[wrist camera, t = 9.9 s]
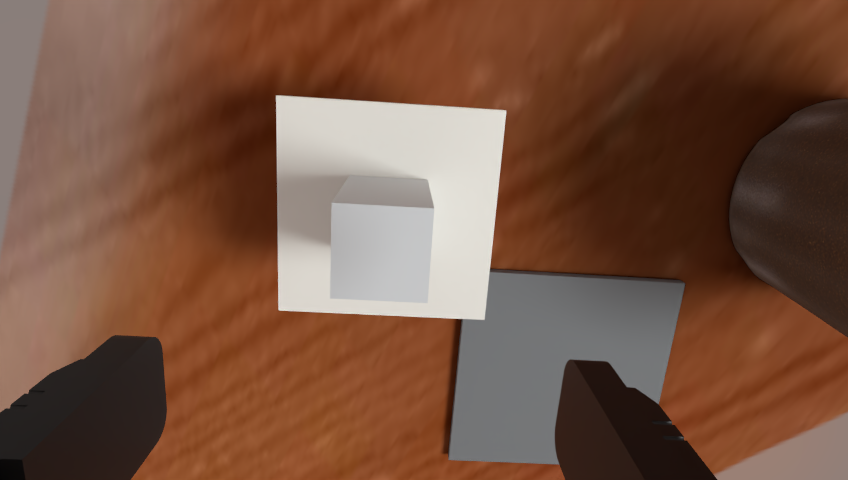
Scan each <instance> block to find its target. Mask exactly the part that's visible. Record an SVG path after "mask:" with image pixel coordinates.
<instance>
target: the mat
mask: <svg viewBox="0 0 848 480" xmlns="http://www.w3.org/2000/svg"><path fill="white" fill-rule="evenodd" d="M684 287H685V283H684V282H683V281H681V280H669V279H652V278H634V277H617V276H600V275H583V274H566V273H549V272H532V271H515V270H497V269H490V273H489V282H488V292H487V301H486V311H485V320H475V319H462V320H461V330H460V340H459V350H458V360H457V370H456V380H455V390H454V400H453V410H452V421H451V431H450V441H449V451H448V457H449V460H465V461H490V462H515V463H540V464H559V462H558V459H557V455H556V449H555V424H556V418H557V412H558V405H559V399H560V393H561V387H562V380H563V374H564V369H565V365H566V363H567V362H568V360H570V359H571V360H591V361H607V362H609V363H610V364H611V366H612V367H613V369H614V370H615V371H616V373H617V374H618V375H619V377H620V378H621V380H622V381H623V382H624V384H625V385H626V387H631V388H636V389H638V390H639V391H641V392H642V393H643V394H645V395H646V396H648V397H649V398H651V399H652V400H653V401H655V402H656V403H658V404H659V400H660V395H661V391H662V386H663V382H664V377H665V373H666V368H667V364H668V359H669V355H670V350H671V346H672V341H673V337H674V332H675V328H676V323H677V319H678V314H679V310H680V305H681V301H682V296H683V292H684Z"/></svg>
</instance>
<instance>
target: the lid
mask: <svg viewBox="0 0 848 480" xmlns="http://www.w3.org/2000/svg"><path fill="white" fill-rule="evenodd" d="M505 120H506V110H498V109H483V108H468V107H453V106H438V105H422V104H407V103H392V102H377V101H362V100H347V99H331V98H316V97H301V96H286V95H276V137H277V221H278V305H279V310H281V311H303V312H324V313H346V314H367V315H389V316H410V317H432V318H453V319H475V320H485V311H486V301H487V292H488V282H489V273H490V263H491V253H492V244H493V234H494V225H495V215H496V206H497V196H498V186H499V177H500V167H501V158H502V148H503V139H504V129H505Z"/></svg>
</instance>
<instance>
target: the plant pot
mask: <svg viewBox="0 0 848 480" xmlns="http://www.w3.org/2000/svg"><path fill="white" fill-rule="evenodd" d="M729 224H730V232H731V237H732V241H733V244H734V246H735V249H736V250H737V252H738V253H739V254H740V255H741V257H742V258H743V260H744V261H745V262H746V264H747V265H748V267H749V268H750V269H751V271H752V272H753V273H754V274H755V275H756V276H757V277H758V278H760V279H761V280H763V281H764V282H766V283H768V284H769V285H771V286H772V287H774V288H775V289H777V290H778V291H780V292H781V293H783V294H784V295H786V296H787V297H789V298H790V299H792V300H793V301H795V302H796V303H798V304H799V305H801V306H802V307H804V308H805V309H807V310H808V311H810V312H811V313H813V314H814V315H816V316H817V317H819V318H820V319H822V320H823V321H824V322H826V323H827V324H829V325H830V326H832V327H833V328H835V329H836V330H838V331H839V332H841V333H842V334H844V335H845V336H847V337H848V99H837V100H830V101H825V102H821V103H817V104H814V105H811V106H809V107H806V108H804V109H801V110H799V111H797V112H795V113H793V114H792V115H790V117H789V118H788V120H787V121H785V122H784V123H783V124H782V125H780V126H779V127H778V128H776V129H775V130H774V131H772V132H771V133H769V134H768V135H766V136H765V137H763V138H762V139H761V140H759V142H758V143H757V144H756V145H755V146H754V148H753V149H752V151H751V152H750V153H749V155H748V156H747V158H746V160H745V161H744V163H743V165H742V167H741V169H740V171H739V173H738V176H737V178H736V181H735V184H734V187H733V191H732V195H731V201H730V209H729Z"/></svg>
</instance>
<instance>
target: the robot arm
mask: <svg viewBox="0 0 848 480" xmlns="http://www.w3.org/2000/svg"><path fill="white" fill-rule="evenodd" d="M166 412H167V406H166V392H165V379H164V366H163V352H162V346H161V343H160V341H159V339H157V338H156V337H141V336H121V335H115V336H112V337H111V338H109V339H108V340H107V341H106V342H104V343H103V344H102V345H101V346H100V347H98V348H97V349H96V350H95V351H94V352H92V353H91V354H90V355H89V356H87V357H86V358H85V359H80V360H78V361H76V362H74V363H72V364H69V365H67V366H65V367H63V368H61V369H59V370H57V371H54V372H52V373H50V374H49V375H48V376H47V377H45V378H44V379H43V380H42V381H40V382H39V383H38V384H36V385H35V386H34V387H33V388H31V389H30V390H29V393H28V394H24V395H22V396H21V397H20V398H19V399H17V400H16V401H15V402H14V403H12V404H11V407H10V409H5V410H3V411H2V412H1V413H0V480H131V478H132V477H133V476H134V474H135V473H136V471H137V470H138V469H139V467H140V466H141V464H142V463H143V462H144V460H145V459H146V458H147V456H148V455H149V453H150V452H151V451H152V449H153V448H154V446H155V445H156V444H157V442H158V441H159V439H160V437H161V434H162V432H163V429H164V425H165V420H166ZM555 449H556V455H557V459H558V462H559V464H560V467H561V470H562V472H563V475H564V477H565V480H717V479H716V477H715V476H714V475H713V474H712V472H711V471H710V470H709V468H708V467H707V466H706V465H705V463H704V462H703V461H702V459H701V458H700V457H699V456H698V454H697V453H696V452H695V451H694V449H693V448H692V447H691V445H690V444H689V443H688V442H687V441H684V437H683V435H682V434H681V433H680V431H679V430H678V429H677V428H676V426H675V425H672V421H671V420H670V419H669V417H668V416H667V415H666V414H665V412H664V411H663V410H662V408H661V407H660V406H659V405H658V403H656V402H655V401H653V400H652V399H651V398H649V397H648V396H646V395H645V394H643V393H642V392H641V391H639V390H638V389H636V388H631V387H626V385H625V384H624V382H623V381H622V380H621V378H620V377H619V375H618V374H617V373H616V371H615V370H614V369H613V367H612V366H611V364H610V363H609V362H607V361H591V360H571V359H570V360H568V362H567V363H566V365H565V369H564V374H563V380H562V387H561V393H560V399H559V405H558V412H557V418H556V424H555Z"/></svg>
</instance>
